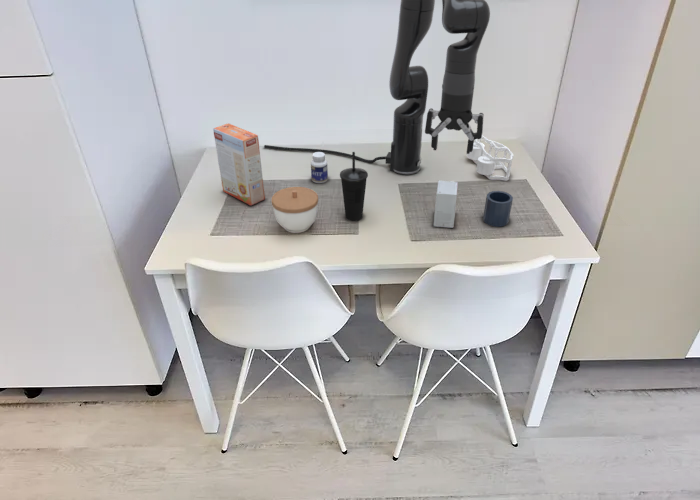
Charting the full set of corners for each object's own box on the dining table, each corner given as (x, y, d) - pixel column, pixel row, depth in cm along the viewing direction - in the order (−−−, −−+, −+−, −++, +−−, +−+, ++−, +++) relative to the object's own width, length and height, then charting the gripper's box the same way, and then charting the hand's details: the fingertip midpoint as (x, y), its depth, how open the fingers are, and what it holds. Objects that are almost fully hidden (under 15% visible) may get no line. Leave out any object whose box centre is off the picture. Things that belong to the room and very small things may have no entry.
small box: (453, 228, 147) (457, 195, 141) (432, 226, 148) (436, 193, 142) (454, 214, 153) (458, 181, 147) (435, 212, 154) (438, 179, 148)
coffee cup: (481, 224, 149) (485, 201, 144) (484, 212, 154) (487, 189, 150) (507, 228, 147) (512, 204, 143) (509, 215, 152) (513, 192, 148)
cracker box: (266, 199, 162) (259, 134, 150) (250, 207, 158) (241, 140, 146) (238, 184, 169) (228, 121, 157) (222, 191, 166) (211, 127, 154)
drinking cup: (371, 213, 154) (372, 149, 143) (360, 226, 149) (360, 160, 137) (347, 207, 157) (346, 144, 145) (336, 220, 151) (334, 155, 140)
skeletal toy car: (462, 155, 185) (464, 135, 181) (493, 153, 186) (496, 134, 182) (480, 182, 169) (483, 161, 165) (514, 180, 170) (518, 159, 166)
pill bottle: (308, 181, 171) (307, 156, 165) (315, 174, 174) (314, 149, 169) (323, 184, 169) (322, 159, 164) (330, 177, 173) (329, 152, 168)
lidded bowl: (301, 243, 142) (299, 207, 136) (265, 230, 147) (260, 195, 141) (328, 221, 151) (327, 187, 144) (292, 210, 156) (289, 176, 150)
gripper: (489, 86, 131) (480, 148, 140) (431, 82, 134) (426, 142, 143) (486, 96, 125) (477, 160, 134) (426, 91, 128) (421, 153, 137)
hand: (451, 150), depth 139 cm, fingers open, 8 cm apart
